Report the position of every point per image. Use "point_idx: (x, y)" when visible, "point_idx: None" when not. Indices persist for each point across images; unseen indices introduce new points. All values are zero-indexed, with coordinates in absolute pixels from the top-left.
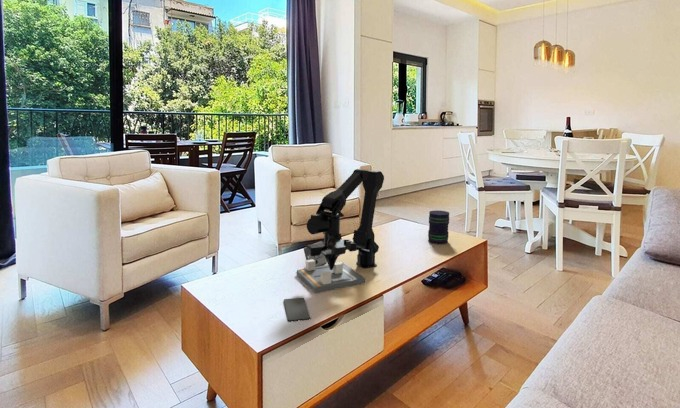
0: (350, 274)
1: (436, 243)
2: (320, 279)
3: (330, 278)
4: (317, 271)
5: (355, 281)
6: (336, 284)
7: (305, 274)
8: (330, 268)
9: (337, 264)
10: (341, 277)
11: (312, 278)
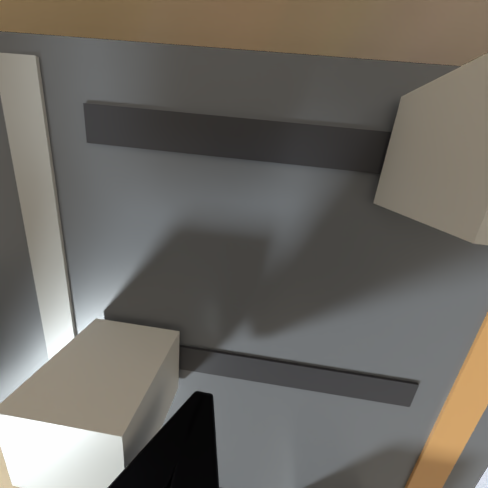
0: (34, 234)
1: None
2: (410, 302)
3: (472, 72)
4: (296, 465)
5: (49, 44)
6: (329, 61)
7: (446, 474)
8: (214, 417)
9: (81, 437)
10: (162, 221)
11: (470, 368)
